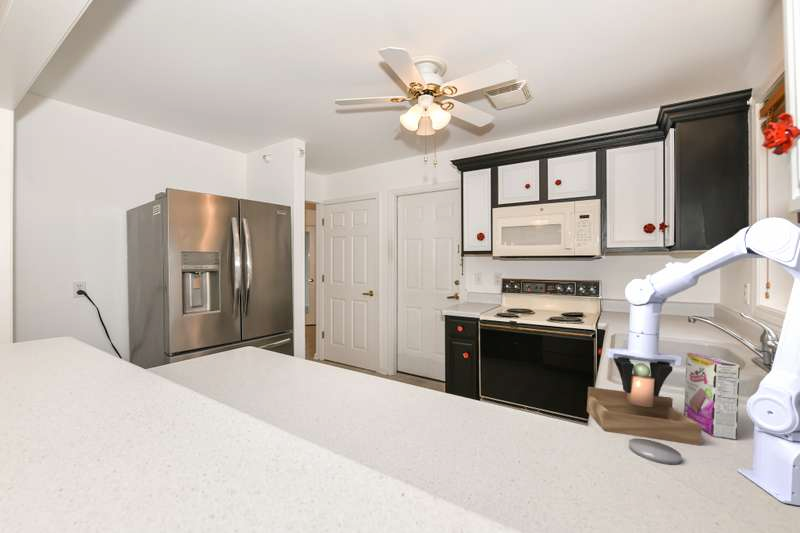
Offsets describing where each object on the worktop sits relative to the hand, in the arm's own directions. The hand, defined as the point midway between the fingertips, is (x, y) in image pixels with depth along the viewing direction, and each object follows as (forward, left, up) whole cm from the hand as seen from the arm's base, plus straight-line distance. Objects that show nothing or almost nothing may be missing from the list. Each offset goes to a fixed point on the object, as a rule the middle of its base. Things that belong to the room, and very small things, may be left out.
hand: (640, 393), depth 80 cm
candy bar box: (+6, -17, -8) cm, 20 cm away
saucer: (-14, +3, -8) cm, 16 cm away
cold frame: (0, 0, -8) cm, 8 cm away
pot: (0, 0, -2) cm, 2 cm away
